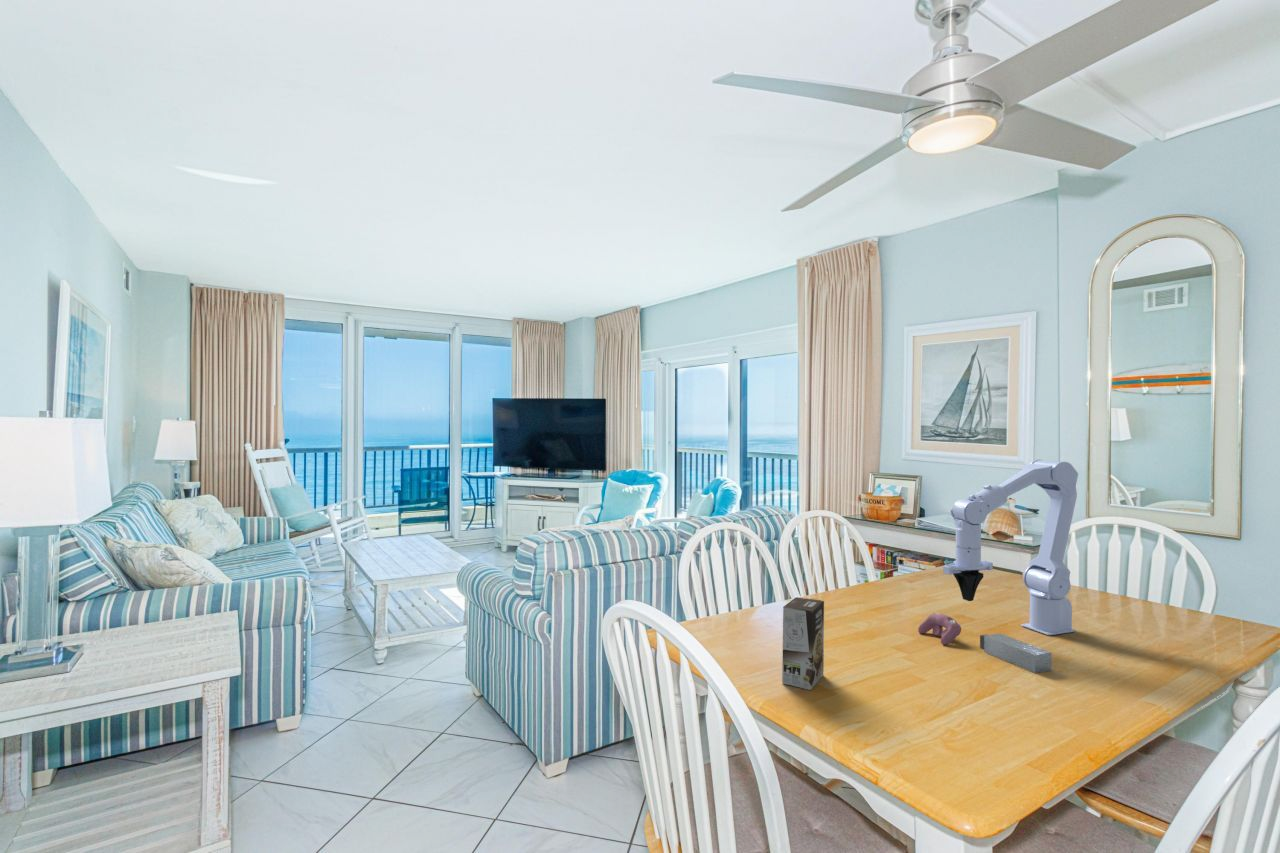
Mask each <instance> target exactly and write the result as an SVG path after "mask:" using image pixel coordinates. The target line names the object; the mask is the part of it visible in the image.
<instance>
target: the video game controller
mask: <svg viewBox="0 0 1280 853" xmlns="http://www.w3.org/2000/svg"><path fill="white" fill-rule="evenodd" d="M943 628H945V629H944V630H943ZM931 630H932V634H933V635H934V636H936V637H941V638H940V643H941V645H943V646H948V645H950V644H952V642H954V641H955V639H956V638H957V637H959V636H960V634H961V633H962V626H961V625H960V623H958V622H957V621H956V620H955V618H953V617H951V616H949V615H947V614H944V613H935V612H932V613H931V614H930V615H928V616H927V618H926V619H925V620H924V621H922V623H920V624H919V626H918V630H917V632H918V633H919V634H926V633H928V632H930V631H931Z"/></svg>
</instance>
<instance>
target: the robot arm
mask: <svg viewBox="0 0 1280 853" xmlns="http://www.w3.org/2000/svg"><path fill="white" fill-rule="evenodd" d="M1078 477H1079V472H1078V471H1077V469H1076V468H1075V467H1074V466H1073V464H1072V463H1070V462H1068V461H1054V460H1043V459H1034V460H1032V461H1031V462H1030V463H1026V464H1025V465H1024V468H1023V469H1020V471H1018V472H1016V473H1015V474H1014V475H1012V476H1010V477H1009V478H1008V479H1006V480H1004V481H1003V482H1002V483H1001V484H999V485H997V484H985V485H983V489H981V490H979V491H978V492H976V493H974V494H969V495H968V497H967V498H966V499H965V498H964V499H963V498H961V499H958V500H956V501H955V502H954V503H953V505H952V509H950V510H949V512H950V515H951V517H952V518H953V520H954V526H955V560H953V562H952V563H949V564H946V565H943V566H942V573H943V574H945V575H949V576H951V575H953V576H954V578H955V579H956V582H957V584H958V586H959V588H960V594H961V597H962V600H964V601H967V602H973V601H974V600H975V595H976V593H977V592H976V591H977V590H978V587H979V584H980V583H981V581H982V580H983V578H984V573H983V572H980V571H993V570H994V569H993V567H994V565H993V564H994V563H993V562H992V561H987V560H985V561H981V560H982V523H984V522H985V521H986V519H987V516H988V515H990V513H992V512H993V511H995V510H997V509H999V508H1000V507H1002V506H1004V505H1005V504H1007V502H1008V497H1010V496H1012V495H1014V494H1016V493H1018V492H1019V491H1021V490H1023V489H1026V488H1028V487H1029V486H1032V485H1033V484H1035V485H1036V486H1038V487H1040V489H1042V490H1044V492H1045V493H1046V494H1047V495H1048V497H1049V503H1048V508H1047V513H1046V517H1045V522H1044V526H1043V532H1042V536H1041V541H1040V545H1039V550H1038V555H1037V556H1036V557H1034V558H1032V559H1030V560H1029V562H1028V565H1027V568H1026V569H1025V571H1024V572H1023V575H1022V582H1023V584H1024V585H1025V587H1027V591H1028V593H1029V622H1028V623H1027V622H1026V623H1022V624H1021V625H1020V626H1021V627H1024V628H1026V629H1030V630H1031V631H1035V632H1038V633H1041V634H1043V635H1047V636H1054V635H1061V634H1062V635H1063V634H1069V633H1074V632H1076V629H1074V628H1073V606H1072V603H1071V600H1070V599H1069V598H1068V597H1067V596H1068V595H1069V593H1070V590H1071V586H1072V585H1071V584H1072V583H1071V580H1070V577H1071V576H1070V575H1071V571H1070V569H1069V567H1067V565H1066V564H1065V563H1064V557H1065V555H1066V554H1065V553H1066V548H1067V544H1068V540H1069V534H1070V530H1071V525H1072V520H1073V515H1074V511H1075V506H1076V502H1077V495H1078V493H1077V482H1078Z"/></svg>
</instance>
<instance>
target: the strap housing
mask: <svg viewBox="0 0 1280 853" xmlns="http://www.w3.org/2000/svg"><path fill="white" fill-rule="evenodd" d="M983 635H984V649H983V652H984V653H986V654H988V655H991V656H992V657H996V658H998V659H1000V660H1003V661H1004V660H1005V662H1007V663H1009V662H1010V664H1011V665H1014V666H1016V665H1017V667H1019V668H1021V667H1022V668H1021V669H1023V668H1024V670H1026V669H1027V670H1026V671H1028V670H1029V672H1030V673H1033V674H1037V673H1038V672H1040V673H1045V672H1051V671H1052V652H1051V651H1048V650H1045V649H1043V648H1039V647H1037V646H1034V645H1031V644H1029V643H1027V642H1024V641H1021V640H1019V639H1016V638H1014V637H1010V636H1008V635H1005V634H1003V633H1000V632H999V633H993V634H992V633H991V634H987V635H985V634H983ZM1038 674H1039V673H1038Z"/></svg>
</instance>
